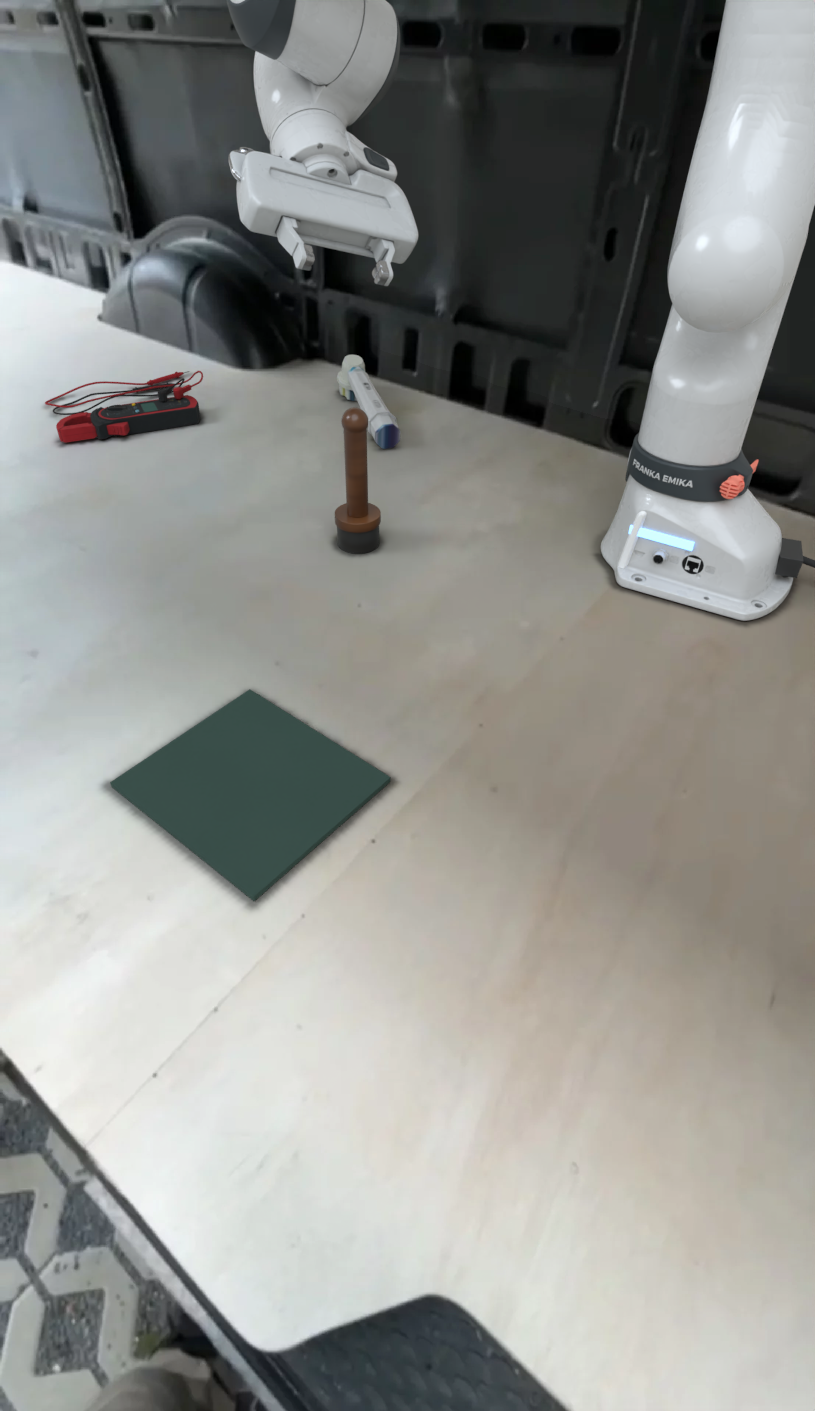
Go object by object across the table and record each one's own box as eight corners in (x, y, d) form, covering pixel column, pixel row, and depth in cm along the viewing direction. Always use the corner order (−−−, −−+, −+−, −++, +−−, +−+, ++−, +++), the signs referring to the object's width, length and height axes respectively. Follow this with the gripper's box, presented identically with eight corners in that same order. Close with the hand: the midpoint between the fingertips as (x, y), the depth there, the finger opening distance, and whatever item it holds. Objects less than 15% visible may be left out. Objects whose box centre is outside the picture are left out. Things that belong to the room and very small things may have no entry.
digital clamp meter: (221, 395, 122) (51, 420, 114) (225, 424, 125) (59, 450, 117) (186, 347, 137) (33, 366, 129) (190, 374, 140) (41, 394, 132)
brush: (390, 541, 99) (390, 407, 88) (360, 559, 96) (356, 423, 84) (356, 526, 102) (352, 394, 90) (326, 544, 98) (318, 409, 87)
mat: (390, 781, 69) (390, 777, 69) (254, 901, 60) (253, 897, 59) (250, 693, 77) (249, 688, 77) (111, 786, 68) (109, 782, 68)
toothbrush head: (371, 425, 115) (333, 346, 131) (370, 465, 120) (334, 384, 136) (405, 422, 116) (364, 343, 132) (403, 461, 122) (363, 381, 137)
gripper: (233, 115, 79) (264, 228, 76) (407, 166, 89) (439, 267, 86) (216, 170, 84) (244, 278, 81) (382, 212, 95) (412, 309, 92)
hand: (346, 273), depth 84 cm, fingers open, 8 cm apart
